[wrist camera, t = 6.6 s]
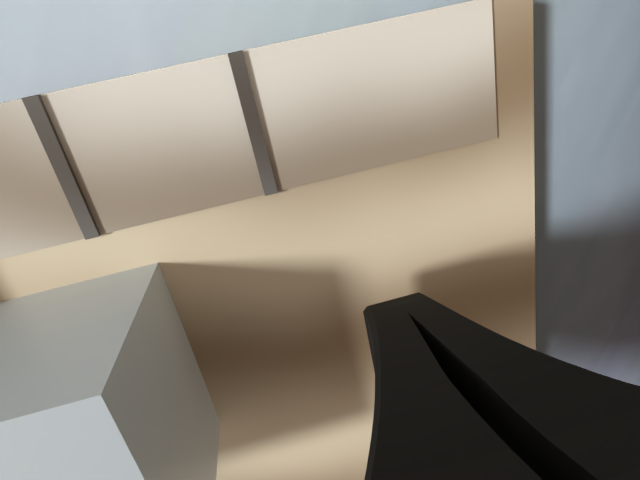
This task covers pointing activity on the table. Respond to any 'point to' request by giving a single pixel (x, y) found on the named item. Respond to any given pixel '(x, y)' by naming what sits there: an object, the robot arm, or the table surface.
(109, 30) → the table surface
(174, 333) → the light grey block
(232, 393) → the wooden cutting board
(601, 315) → the table surface
